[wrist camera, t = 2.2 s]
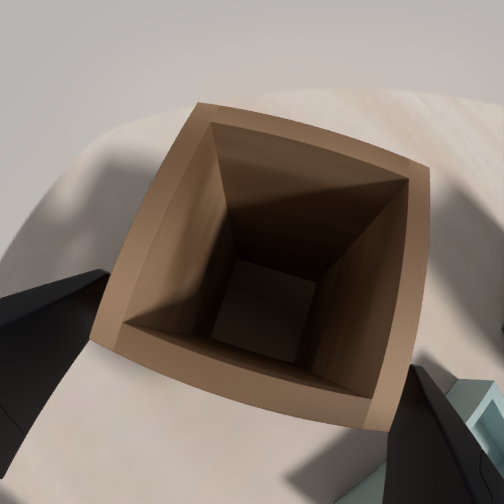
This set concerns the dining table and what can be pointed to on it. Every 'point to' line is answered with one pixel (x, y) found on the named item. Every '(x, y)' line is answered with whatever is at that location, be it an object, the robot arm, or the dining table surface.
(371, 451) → the dining table surface
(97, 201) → the dining table surface
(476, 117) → the dining table surface
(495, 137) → the dining table surface
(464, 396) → the teal square tray
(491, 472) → the robot arm
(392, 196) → the brown tall open box
